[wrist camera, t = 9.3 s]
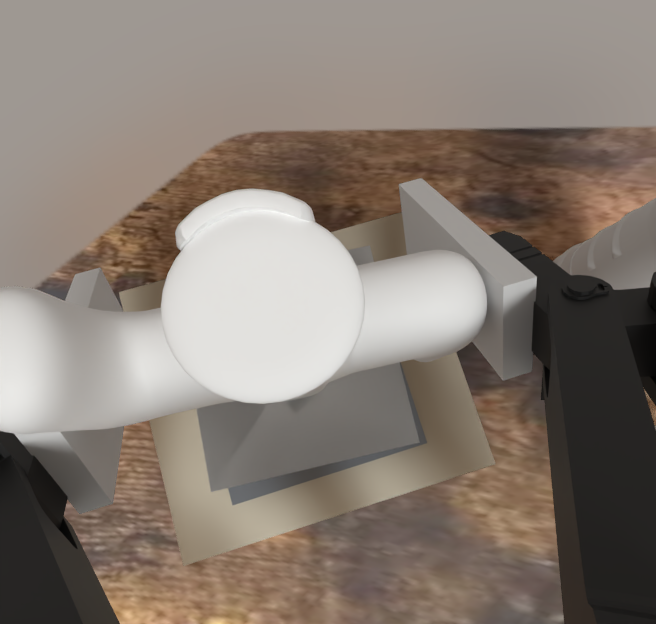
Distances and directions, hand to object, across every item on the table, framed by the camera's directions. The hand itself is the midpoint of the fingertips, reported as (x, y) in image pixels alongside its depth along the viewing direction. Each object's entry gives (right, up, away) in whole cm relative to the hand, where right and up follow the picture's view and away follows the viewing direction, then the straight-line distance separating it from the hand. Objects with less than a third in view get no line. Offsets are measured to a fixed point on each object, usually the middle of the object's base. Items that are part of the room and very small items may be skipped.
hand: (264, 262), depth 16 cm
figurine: (+1, -4, +5) cm, 7 cm away
